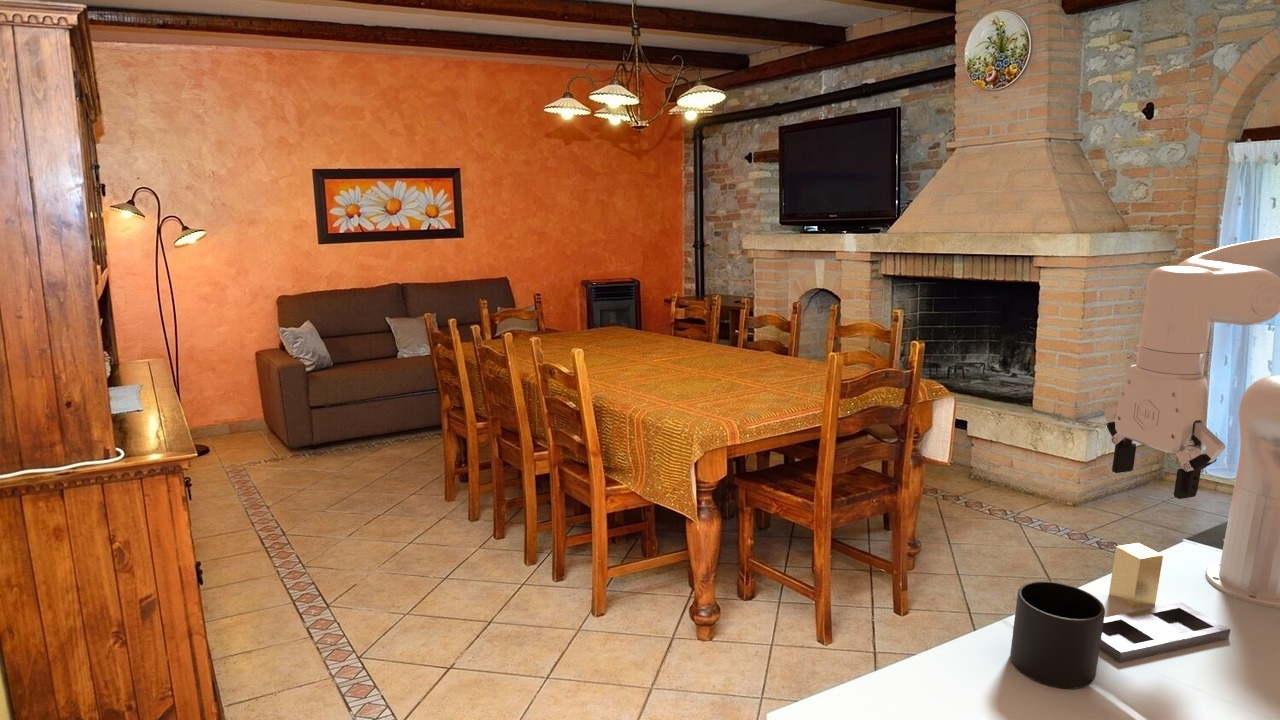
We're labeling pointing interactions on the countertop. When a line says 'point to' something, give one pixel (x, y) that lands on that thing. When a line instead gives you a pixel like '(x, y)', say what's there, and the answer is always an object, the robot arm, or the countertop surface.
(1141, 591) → the wooden block
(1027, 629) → the mug
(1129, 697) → the countertop surface
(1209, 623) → the grey slotted board
